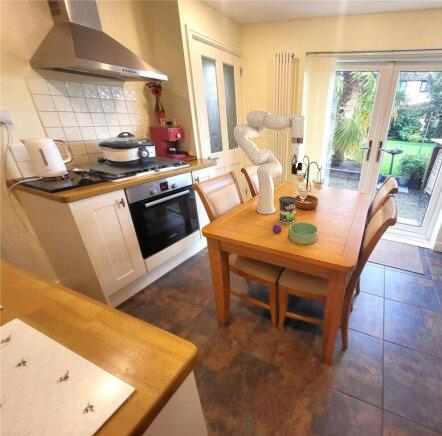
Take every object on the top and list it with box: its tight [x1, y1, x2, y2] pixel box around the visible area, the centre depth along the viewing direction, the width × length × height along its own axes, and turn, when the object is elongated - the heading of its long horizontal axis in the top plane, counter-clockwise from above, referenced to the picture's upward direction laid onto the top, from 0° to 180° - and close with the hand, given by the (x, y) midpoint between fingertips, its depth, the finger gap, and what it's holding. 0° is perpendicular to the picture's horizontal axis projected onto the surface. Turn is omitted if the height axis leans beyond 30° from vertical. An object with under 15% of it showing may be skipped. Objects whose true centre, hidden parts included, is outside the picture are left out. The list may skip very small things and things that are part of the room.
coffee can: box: [278, 195, 297, 225], centre depth 144 cm, size 10×10×14 cm
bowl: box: [288, 221, 319, 245], centre depth 126 cm, size 15×15×6 cm
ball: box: [272, 224, 282, 235], centre depth 130 cm, size 5×5×5 cm
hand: (296, 172), depth 132 cm, fingers open, 9 cm apart
